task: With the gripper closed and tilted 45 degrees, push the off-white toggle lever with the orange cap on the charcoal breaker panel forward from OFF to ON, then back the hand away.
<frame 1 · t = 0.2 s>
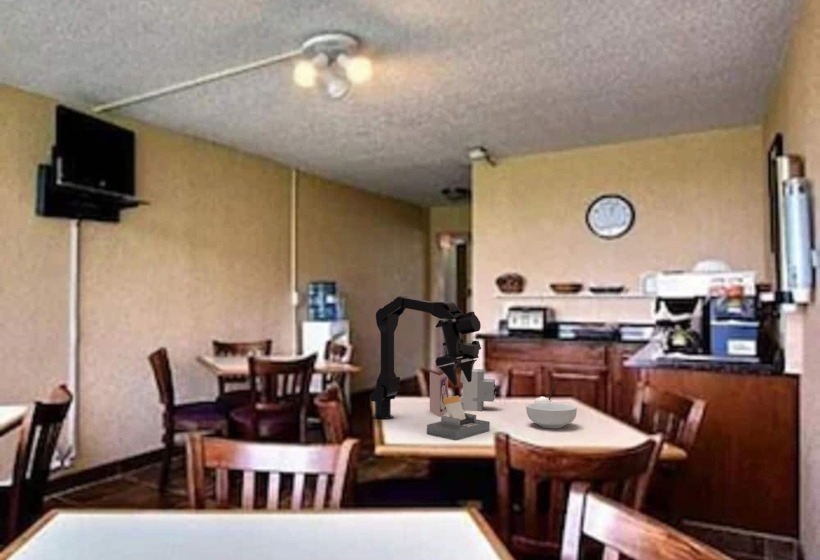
hand: (462, 383, 226), 15 cm above the table, tool tilted 15°, fingers open, 9 cm apart
breaker panel: (458, 432, 222), on the table
cereal bowl: (551, 426, 232), on the table
circuit breaker: (479, 409, 261), on the table
pink box: (436, 413, 253), on the table
white mound with stick: (543, 414, 253), on the table
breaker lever: (454, 409, 223), point 7 cm above the table, hinge at -25.0°
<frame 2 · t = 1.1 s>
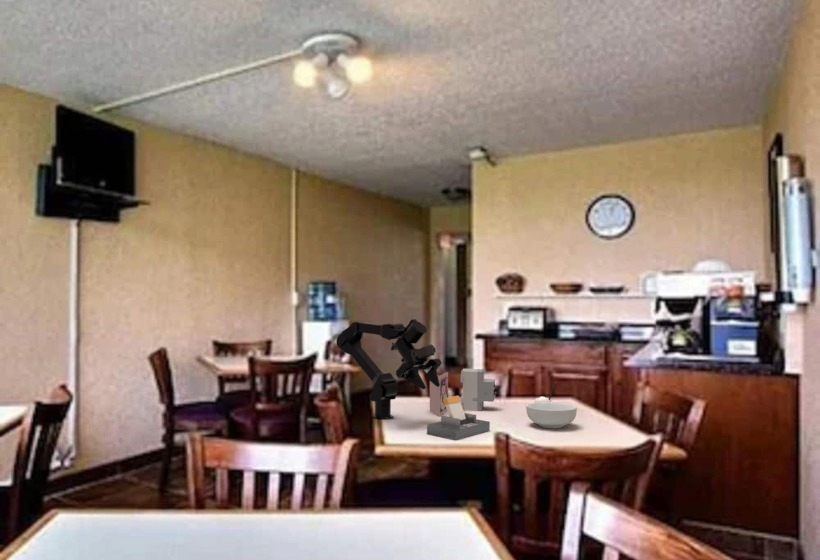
hand: (432, 387, 229), 13 cm above the table, tool tilted 45°, fingers open, 7 cm apart
nothing on the table moved.
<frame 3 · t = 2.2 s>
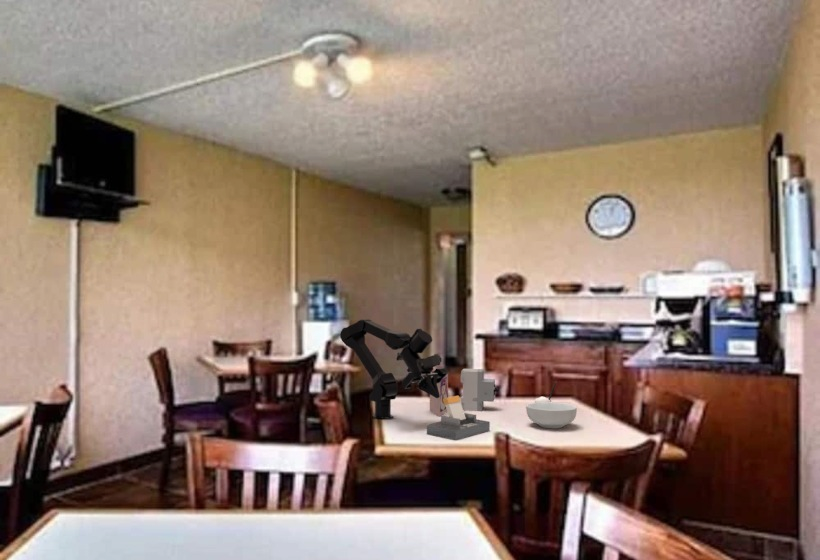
hand: (438, 397, 227), 10 cm above the table, tool tilted 45°, fingers closed
nothing on the table moved.
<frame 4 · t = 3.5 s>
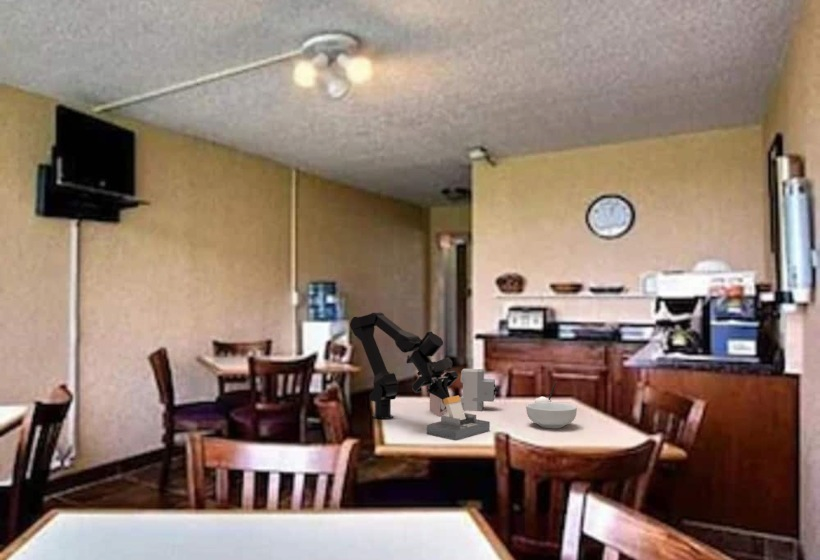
hand: (449, 401, 224), 10 cm above the table, tool tilted 45°, fingers closed, pressing on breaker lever
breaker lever: (455, 409, 223), point 7 cm above the table, hinge at -24.1°, touching gripper
everything else where it was.
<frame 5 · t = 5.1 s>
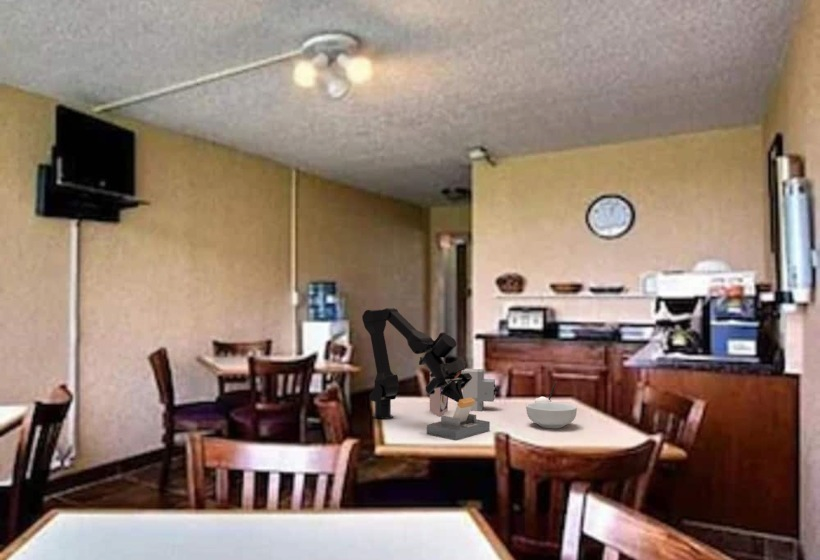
hand: (463, 403, 220), 10 cm above the table, tool tilted 45°, fingers closed, pressing on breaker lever
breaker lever: (462, 411, 220), point 7 cm above the table, hinge at 25.8°, touching gripper
everything else where it was.
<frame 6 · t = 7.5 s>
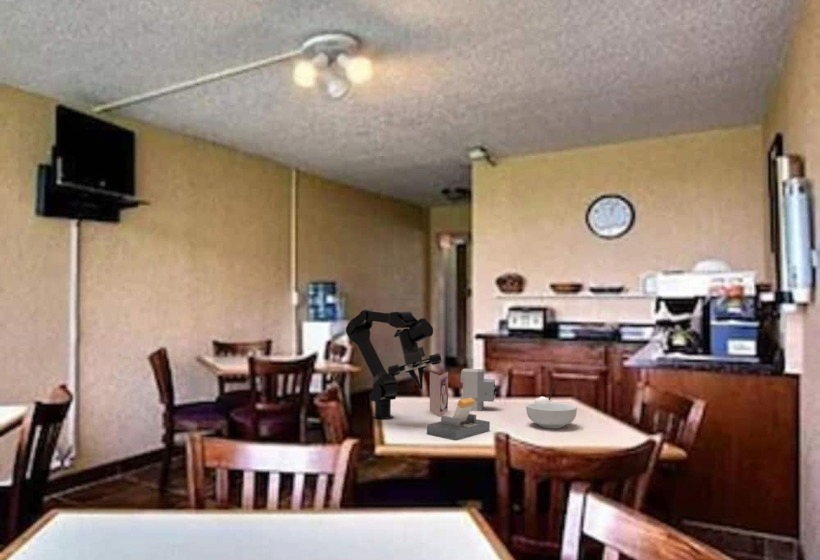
hand: (421, 389, 231), 12 cm above the table, tool tilted 20°, fingers closed
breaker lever: (462, 411, 220), point 7 cm above the table, hinge at 26.0°
everything else where it was.
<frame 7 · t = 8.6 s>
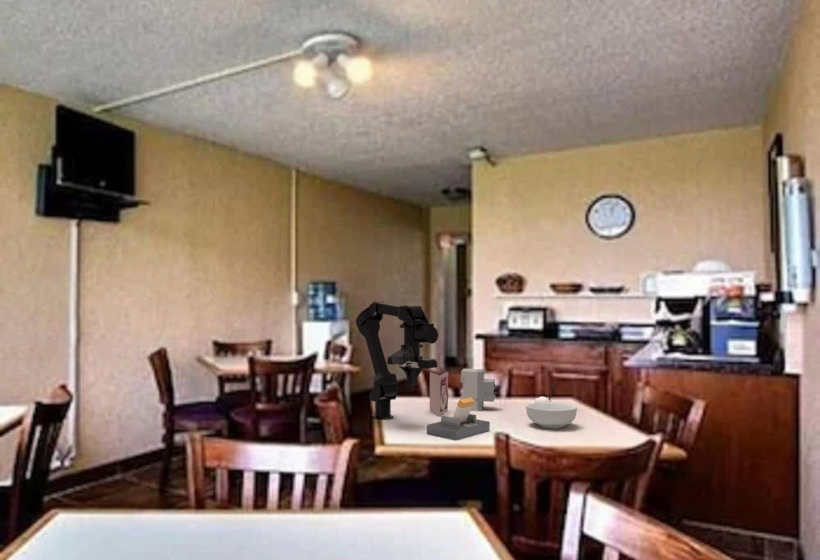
hand: (411, 386, 233), 13 cm above the table, tool pointing down, fingers closed
nothing on the table moved.
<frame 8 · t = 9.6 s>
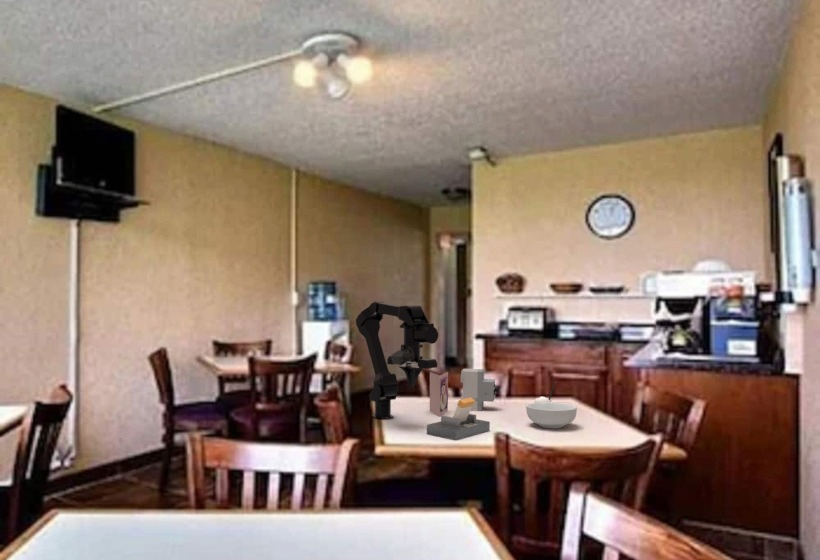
hand: (411, 386, 233), 13 cm above the table, tool pointing down, fingers closed
nothing on the table moved.
at the end: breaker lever at +26° (first picture: -25°) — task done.
